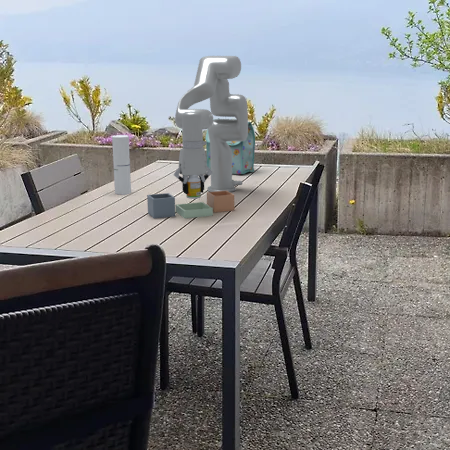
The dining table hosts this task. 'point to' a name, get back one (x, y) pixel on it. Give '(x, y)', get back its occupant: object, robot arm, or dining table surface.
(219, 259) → the dining table surface
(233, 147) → the lunch bag
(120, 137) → the cylindrical container
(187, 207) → the green tray
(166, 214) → the grey square bin
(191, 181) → the supplement bottle
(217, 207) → the terracotta square bin
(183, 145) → the robot arm
